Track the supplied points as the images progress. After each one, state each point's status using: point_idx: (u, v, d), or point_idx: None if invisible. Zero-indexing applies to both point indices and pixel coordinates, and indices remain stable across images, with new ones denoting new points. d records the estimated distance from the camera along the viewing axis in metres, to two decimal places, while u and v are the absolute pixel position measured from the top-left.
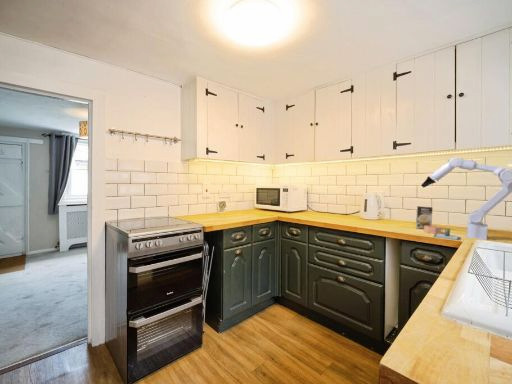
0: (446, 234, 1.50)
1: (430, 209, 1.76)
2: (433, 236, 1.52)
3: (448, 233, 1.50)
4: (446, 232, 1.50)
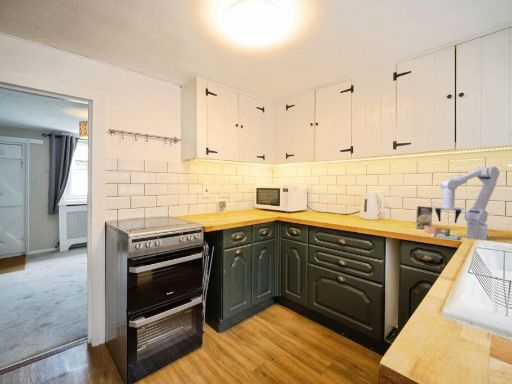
0: (446, 234, 1.50)
1: (430, 209, 1.76)
2: (433, 236, 1.52)
3: (448, 233, 1.50)
4: (446, 232, 1.50)
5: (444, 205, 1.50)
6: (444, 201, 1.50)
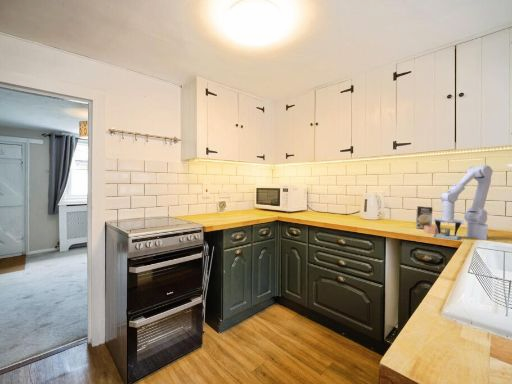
0: (446, 234, 1.50)
1: (430, 209, 1.76)
2: (433, 236, 1.52)
3: (448, 233, 1.50)
4: (446, 232, 1.50)
5: (444, 217, 1.50)
6: (444, 213, 1.50)
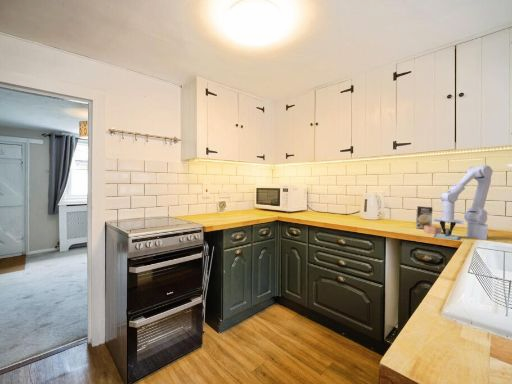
0: (446, 234, 1.50)
1: (430, 209, 1.76)
2: (433, 236, 1.52)
3: (448, 233, 1.50)
4: (446, 232, 1.50)
5: (444, 217, 1.50)
6: (444, 213, 1.50)
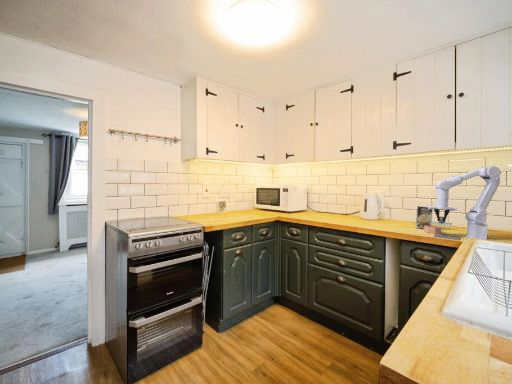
0: (440, 221, 1.56)
1: (430, 209, 1.76)
2: (433, 236, 1.52)
3: (442, 220, 1.55)
4: (440, 219, 1.56)
5: (438, 205, 1.55)
6: (438, 201, 1.55)
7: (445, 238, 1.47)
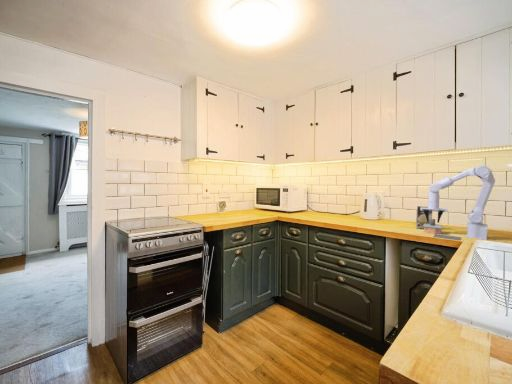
0: (432, 223, 1.64)
1: None
2: (433, 236, 1.52)
3: (433, 222, 1.64)
4: (432, 222, 1.64)
5: (430, 206, 1.64)
6: (430, 203, 1.64)
7: (445, 238, 1.47)
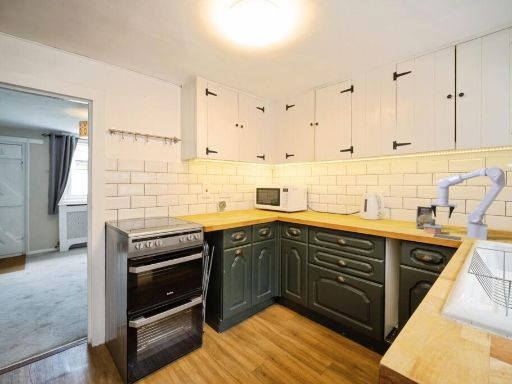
0: (432, 223, 1.64)
1: (430, 209, 1.76)
2: (433, 236, 1.52)
3: (433, 222, 1.64)
4: (432, 222, 1.64)
5: (439, 202, 1.64)
6: (439, 198, 1.64)
7: (445, 238, 1.47)
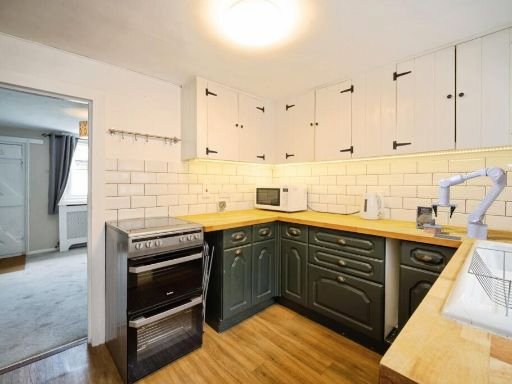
0: (432, 223, 1.64)
1: (430, 209, 1.76)
2: (433, 236, 1.52)
3: (433, 222, 1.64)
4: (432, 222, 1.64)
5: (440, 202, 1.64)
6: (440, 198, 1.64)
7: (445, 238, 1.47)
